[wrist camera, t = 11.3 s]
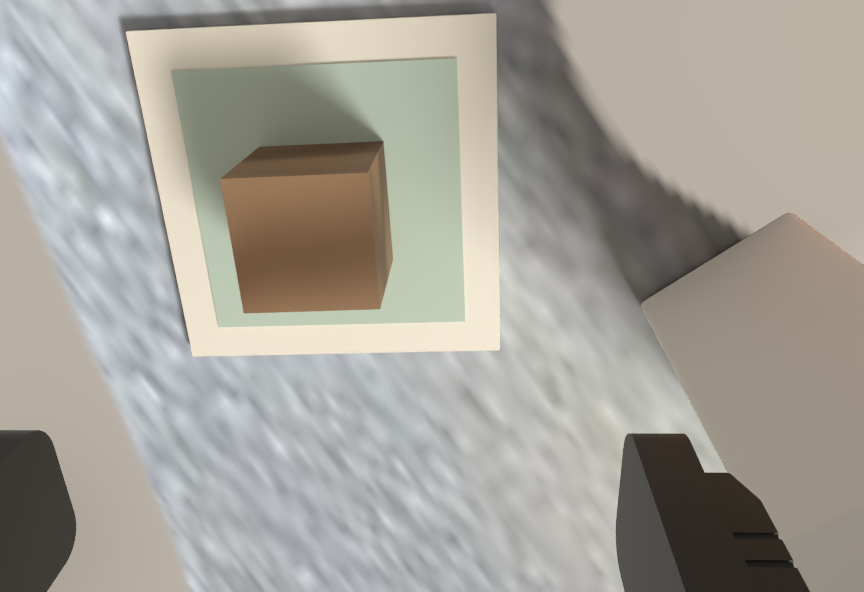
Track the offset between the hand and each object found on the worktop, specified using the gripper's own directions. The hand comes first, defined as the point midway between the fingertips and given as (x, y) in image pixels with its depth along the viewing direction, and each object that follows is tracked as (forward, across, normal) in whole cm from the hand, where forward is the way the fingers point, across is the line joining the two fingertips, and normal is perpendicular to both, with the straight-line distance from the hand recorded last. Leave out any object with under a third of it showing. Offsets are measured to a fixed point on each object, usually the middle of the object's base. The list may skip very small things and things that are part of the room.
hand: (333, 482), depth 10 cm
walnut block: (+20, +4, +2) cm, 21 cm away
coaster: (+21, +4, +2) cm, 21 cm away
